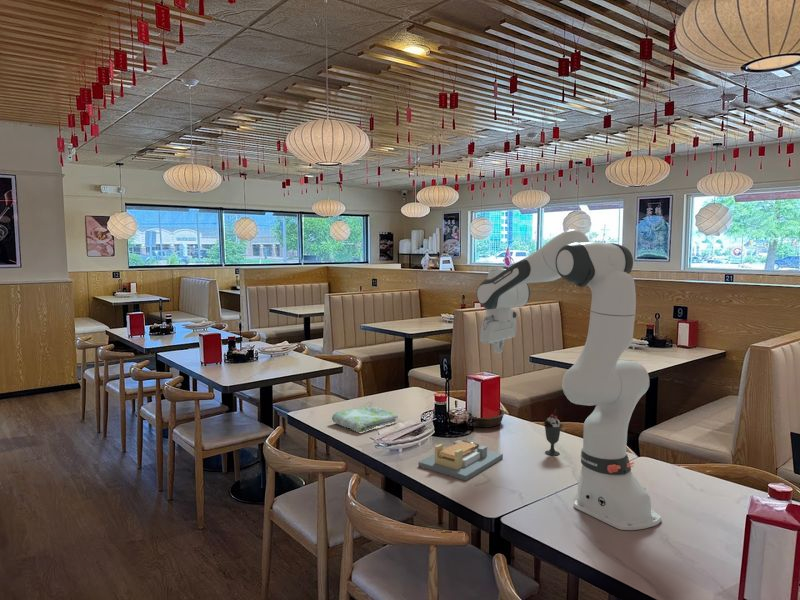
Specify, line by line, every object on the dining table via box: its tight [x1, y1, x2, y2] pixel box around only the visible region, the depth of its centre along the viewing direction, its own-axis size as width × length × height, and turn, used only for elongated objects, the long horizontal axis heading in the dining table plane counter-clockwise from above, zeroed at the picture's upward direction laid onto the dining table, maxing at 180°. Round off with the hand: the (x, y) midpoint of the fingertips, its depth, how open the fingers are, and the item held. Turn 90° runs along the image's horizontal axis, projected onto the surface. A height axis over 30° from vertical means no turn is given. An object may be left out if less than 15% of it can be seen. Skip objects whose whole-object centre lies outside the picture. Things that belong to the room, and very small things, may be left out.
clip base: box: [417, 439, 504, 481], centre depth 178 cm, size 23×18×7 cm
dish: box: [463, 407, 506, 428], centre depth 220 cm, size 18×22×5 cm
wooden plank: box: [439, 440, 480, 459], centre depth 177 cm, size 2×6×15 cm
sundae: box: [542, 408, 564, 457], centre depth 185 cm, size 7×7×15 cm
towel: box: [331, 405, 399, 433], centre depth 220 cm, size 18×21×5 cm
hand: (498, 352), depth 193 cm, fingers closed
